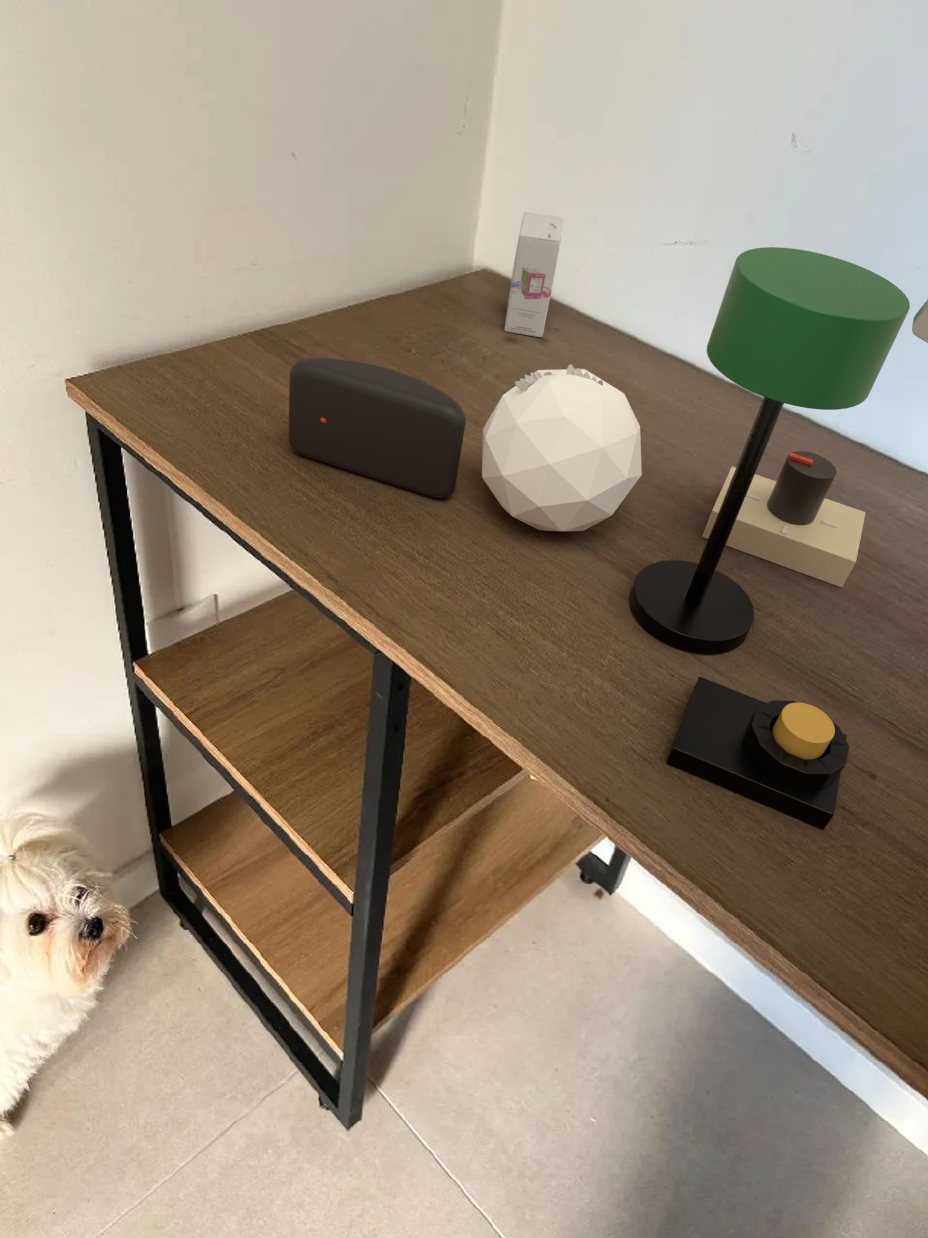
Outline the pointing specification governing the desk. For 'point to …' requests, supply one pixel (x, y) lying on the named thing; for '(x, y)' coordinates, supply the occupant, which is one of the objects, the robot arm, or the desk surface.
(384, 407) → the dark grey speaker
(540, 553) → the desk surface
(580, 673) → the desk surface
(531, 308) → the ink box
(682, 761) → the button base
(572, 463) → the geodesic sphere
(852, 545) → the dimmer panel
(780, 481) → the dimmer knob
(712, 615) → the desk lamp
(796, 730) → the button
